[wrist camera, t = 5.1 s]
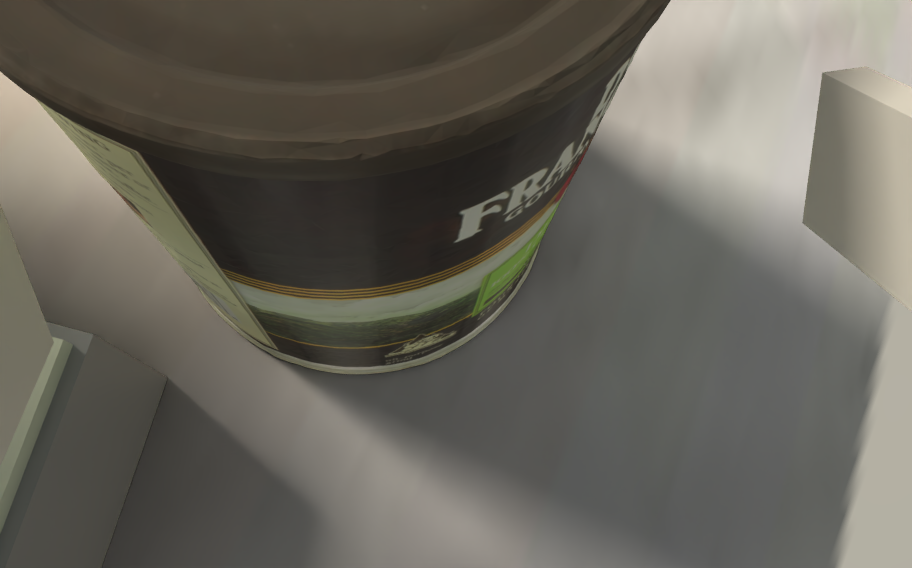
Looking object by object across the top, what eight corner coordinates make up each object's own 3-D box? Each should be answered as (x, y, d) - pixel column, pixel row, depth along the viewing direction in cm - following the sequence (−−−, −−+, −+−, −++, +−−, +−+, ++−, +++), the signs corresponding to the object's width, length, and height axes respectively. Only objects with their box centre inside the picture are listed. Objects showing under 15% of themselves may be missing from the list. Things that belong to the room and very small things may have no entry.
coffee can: (603, 121, 25) (853, -362, 11) (444, 444, 22) (516, 328, 8) (289, -29, 25) (161, -659, 12) (97, 267, 23) (-357, -106, 9)
